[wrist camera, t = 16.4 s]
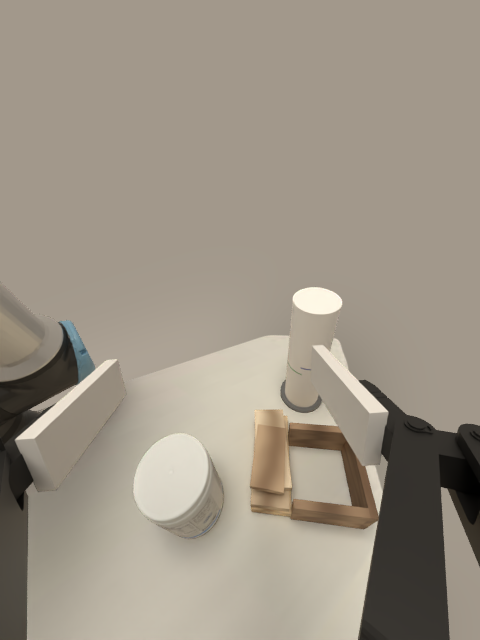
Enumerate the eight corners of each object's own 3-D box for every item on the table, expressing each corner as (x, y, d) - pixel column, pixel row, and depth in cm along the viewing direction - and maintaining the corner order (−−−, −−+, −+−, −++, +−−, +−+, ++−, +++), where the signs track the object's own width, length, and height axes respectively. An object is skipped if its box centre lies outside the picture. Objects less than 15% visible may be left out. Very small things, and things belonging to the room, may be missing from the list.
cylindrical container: (317, 411, 46) (342, 317, 30) (282, 402, 48) (289, 310, 32) (318, 382, 51) (341, 289, 35) (287, 376, 53) (295, 285, 38)
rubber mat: (273, 400, 49) (274, 399, 49) (289, 371, 55) (289, 370, 55) (314, 420, 45) (314, 419, 45) (327, 386, 51) (327, 385, 51)
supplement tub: (175, 466, 41) (148, 429, 32) (227, 467, 40) (214, 429, 31) (158, 539, 33) (116, 520, 24) (221, 543, 33) (202, 524, 23)
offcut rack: (249, 513, 35) (247, 502, 31) (256, 418, 47) (254, 400, 42) (364, 529, 33) (379, 519, 28) (340, 425, 44) (348, 406, 40)
